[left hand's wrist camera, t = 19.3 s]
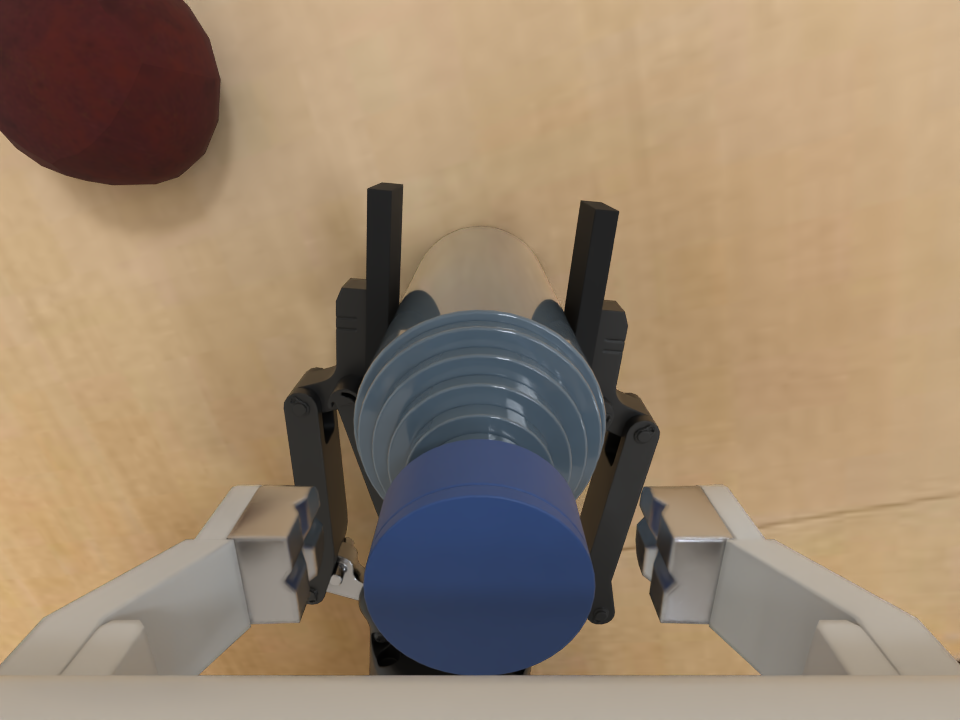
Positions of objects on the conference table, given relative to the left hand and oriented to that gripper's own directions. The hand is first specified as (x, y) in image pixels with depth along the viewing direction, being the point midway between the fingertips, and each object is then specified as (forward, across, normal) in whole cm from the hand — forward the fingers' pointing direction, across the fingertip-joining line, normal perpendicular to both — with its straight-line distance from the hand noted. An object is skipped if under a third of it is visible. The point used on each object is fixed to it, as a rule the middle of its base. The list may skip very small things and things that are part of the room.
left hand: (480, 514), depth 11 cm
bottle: (+17, 0, 0) cm, 17 cm away
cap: (-2, 0, 0) cm, 2 cm away
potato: (+17, +13, -9) cm, 23 cm away
